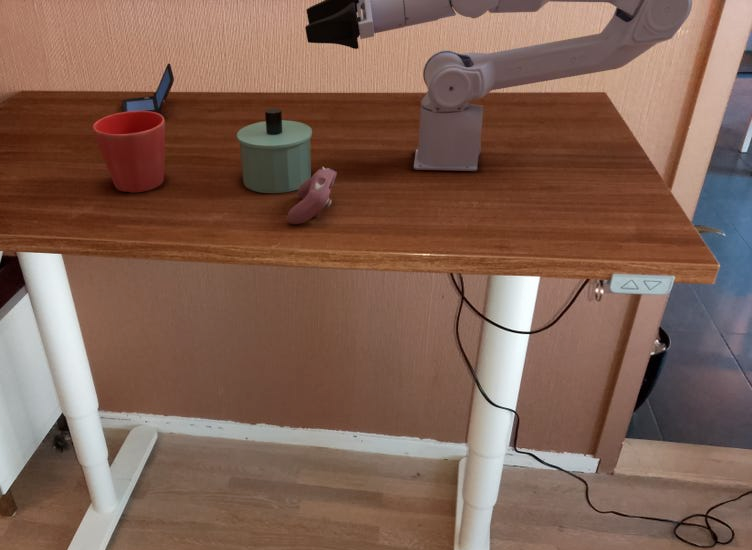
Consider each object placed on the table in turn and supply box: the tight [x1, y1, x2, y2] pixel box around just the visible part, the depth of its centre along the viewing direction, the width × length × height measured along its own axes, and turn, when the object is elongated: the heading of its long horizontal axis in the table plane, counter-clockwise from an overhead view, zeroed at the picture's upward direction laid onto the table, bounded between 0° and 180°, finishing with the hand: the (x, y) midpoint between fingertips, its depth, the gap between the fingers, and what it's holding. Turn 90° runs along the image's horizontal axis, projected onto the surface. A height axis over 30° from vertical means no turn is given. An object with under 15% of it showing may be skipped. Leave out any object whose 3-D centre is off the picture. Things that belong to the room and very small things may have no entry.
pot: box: [239, 138, 312, 194], centre depth 109 cm, size 10×10×7 cm
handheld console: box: [121, 63, 175, 116], centre depth 141 cm, size 12×11×7 cm
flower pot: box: [92, 111, 166, 193], centre depth 110 cm, size 11×11×10 cm
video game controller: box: [286, 165, 338, 225], centre depth 99 cm, size 10×5×7 cm, turn 168°
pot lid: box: [236, 107, 313, 149], centre depth 106 cm, size 11×11×4 cm
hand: (307, 25), depth 103 cm, fingers open, 7 cm apart
